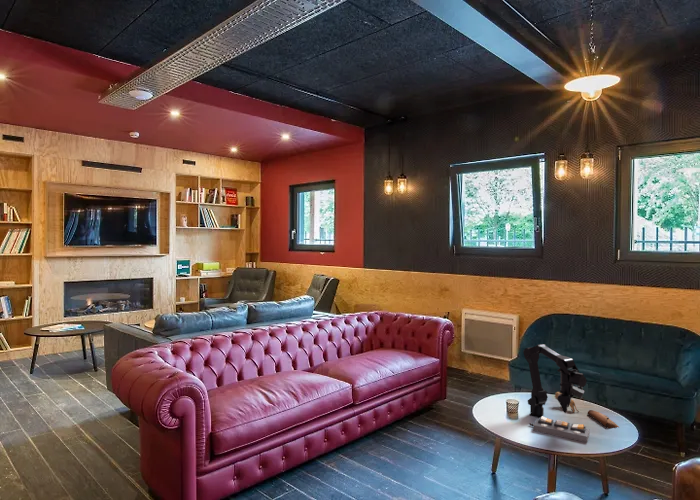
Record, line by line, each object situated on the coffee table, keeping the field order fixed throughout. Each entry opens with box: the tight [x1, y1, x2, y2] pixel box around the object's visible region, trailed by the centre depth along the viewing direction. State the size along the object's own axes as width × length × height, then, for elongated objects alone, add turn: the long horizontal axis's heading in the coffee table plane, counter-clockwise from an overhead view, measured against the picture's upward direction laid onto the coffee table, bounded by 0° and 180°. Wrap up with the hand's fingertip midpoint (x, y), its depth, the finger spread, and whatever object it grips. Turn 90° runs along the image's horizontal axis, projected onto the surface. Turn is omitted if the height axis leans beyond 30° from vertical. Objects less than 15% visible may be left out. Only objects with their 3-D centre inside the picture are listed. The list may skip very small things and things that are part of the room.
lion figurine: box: [554, 391, 580, 413], centre depth 274 cm, size 15×5×9 cm, turn 38°
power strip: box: [529, 417, 590, 443], centre depth 242 cm, size 29×10×4 cm, turn 56°
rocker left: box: [539, 415, 553, 423], centre depth 247 cm, size 5×4×1 cm
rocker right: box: [572, 423, 585, 429], centre depth 238 cm, size 5×4×1 cm
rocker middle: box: [556, 419, 569, 426], centre depth 243 cm, size 5×4×1 cm
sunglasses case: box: [587, 409, 620, 429], centre depth 256 cm, size 18×7×7 cm
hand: (566, 409), depth 245 cm, fingers open, 9 cm apart
